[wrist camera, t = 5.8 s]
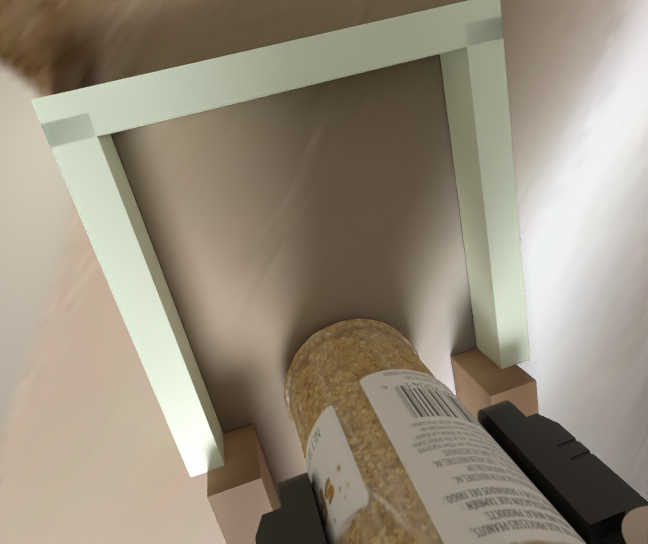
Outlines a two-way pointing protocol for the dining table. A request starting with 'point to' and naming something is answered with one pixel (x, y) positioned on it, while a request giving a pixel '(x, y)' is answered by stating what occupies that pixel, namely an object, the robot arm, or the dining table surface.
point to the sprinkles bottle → (404, 450)
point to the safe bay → (272, 78)
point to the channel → (254, 475)
